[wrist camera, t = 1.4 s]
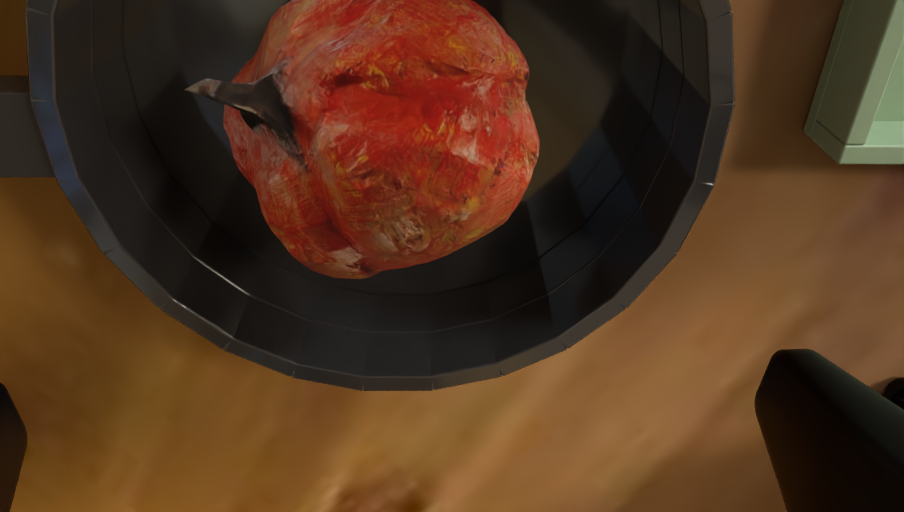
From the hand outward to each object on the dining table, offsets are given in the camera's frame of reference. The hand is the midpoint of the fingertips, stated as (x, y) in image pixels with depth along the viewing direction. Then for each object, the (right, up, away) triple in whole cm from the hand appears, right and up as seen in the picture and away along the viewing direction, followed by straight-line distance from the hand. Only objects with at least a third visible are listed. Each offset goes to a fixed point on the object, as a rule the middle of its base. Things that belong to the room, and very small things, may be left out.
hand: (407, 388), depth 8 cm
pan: (-1, +7, +12) cm, 14 cm away
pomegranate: (-1, +7, +12) cm, 14 cm away
